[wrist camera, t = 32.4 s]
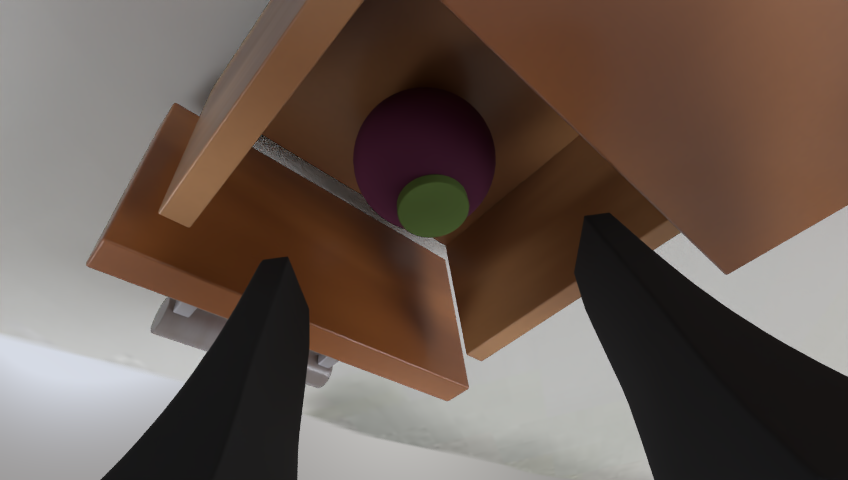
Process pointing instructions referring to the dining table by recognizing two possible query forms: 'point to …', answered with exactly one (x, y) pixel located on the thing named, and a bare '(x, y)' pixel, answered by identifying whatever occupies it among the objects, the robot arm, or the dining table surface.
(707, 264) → the dining table surface
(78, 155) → the dining table surface
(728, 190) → the cabinet
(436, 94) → the mangosteen
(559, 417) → the dining table surface
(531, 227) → the drawer
